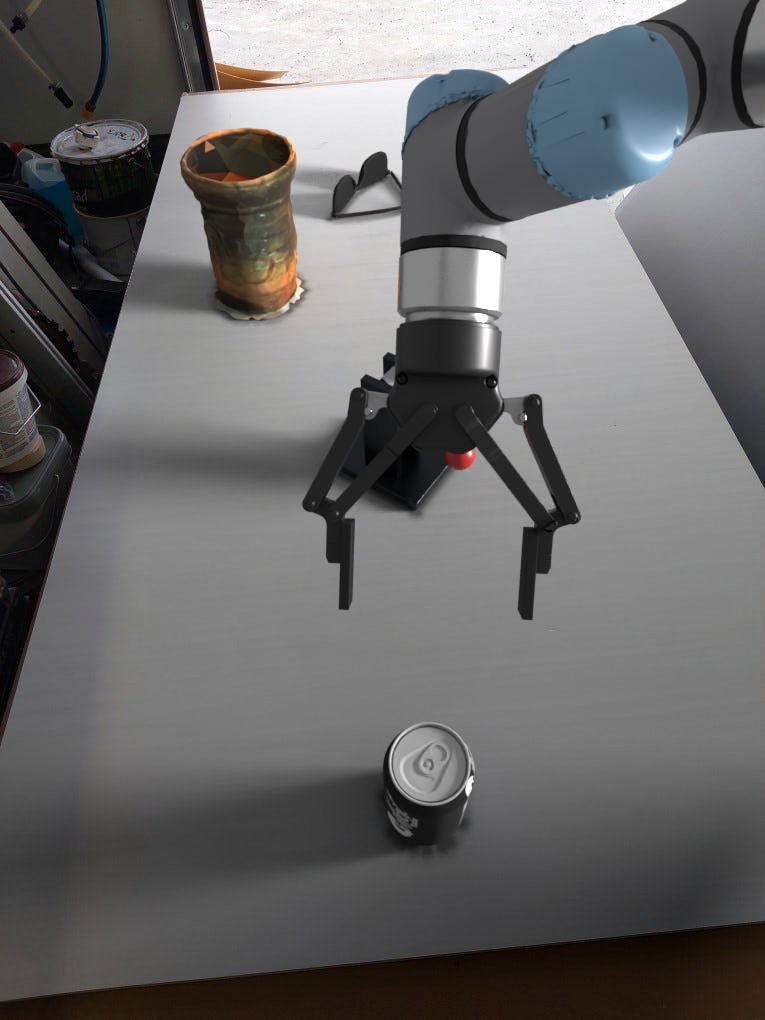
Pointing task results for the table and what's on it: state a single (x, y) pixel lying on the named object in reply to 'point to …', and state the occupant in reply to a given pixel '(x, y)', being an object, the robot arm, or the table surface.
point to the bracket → (410, 469)
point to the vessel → (247, 218)
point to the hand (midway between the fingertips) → (434, 610)
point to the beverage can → (427, 782)
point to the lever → (452, 459)
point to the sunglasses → (362, 185)
